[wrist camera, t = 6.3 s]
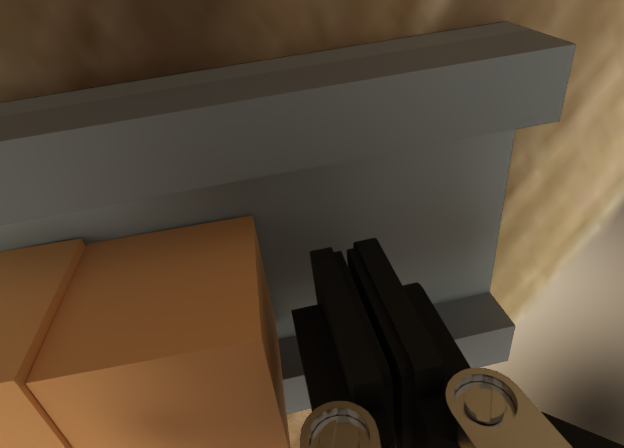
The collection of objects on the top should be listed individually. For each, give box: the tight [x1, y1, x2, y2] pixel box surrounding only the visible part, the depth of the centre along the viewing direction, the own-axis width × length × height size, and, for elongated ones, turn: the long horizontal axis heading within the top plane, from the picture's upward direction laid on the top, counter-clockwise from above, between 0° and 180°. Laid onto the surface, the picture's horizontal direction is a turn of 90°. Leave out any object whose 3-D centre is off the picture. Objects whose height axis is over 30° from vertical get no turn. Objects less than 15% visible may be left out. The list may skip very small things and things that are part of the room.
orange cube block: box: [0, 238, 86, 448], centre depth 10 cm, size 4×4×4 cm
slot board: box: [0, 21, 576, 414], centre depth 12 cm, size 10×13×2 cm
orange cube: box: [25, 216, 290, 448], centre depth 11 cm, size 4×4×4 cm
